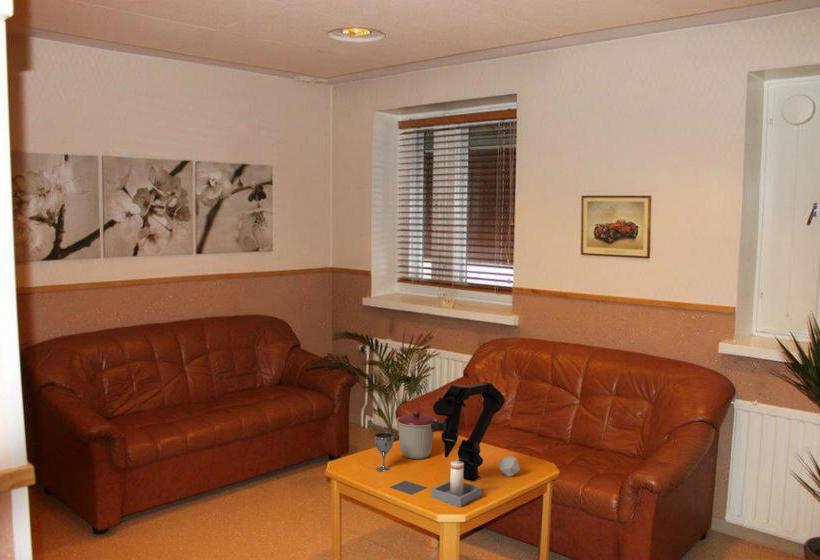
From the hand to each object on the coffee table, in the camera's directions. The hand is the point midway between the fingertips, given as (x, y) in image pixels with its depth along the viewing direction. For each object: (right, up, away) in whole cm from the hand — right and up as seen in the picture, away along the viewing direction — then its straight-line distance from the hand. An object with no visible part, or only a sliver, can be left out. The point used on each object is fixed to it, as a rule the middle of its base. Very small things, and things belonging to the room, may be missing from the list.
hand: (446, 455), depth 292 cm
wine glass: (-26, -11, +22) cm, 35 cm away
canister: (-12, -10, +40) cm, 43 cm away
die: (+27, -12, +17) cm, 34 cm away
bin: (+3, -14, -9) cm, 17 cm away
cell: (+3, -13, -9) cm, 16 cm away
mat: (-15, -13, 0) cm, 20 cm away
